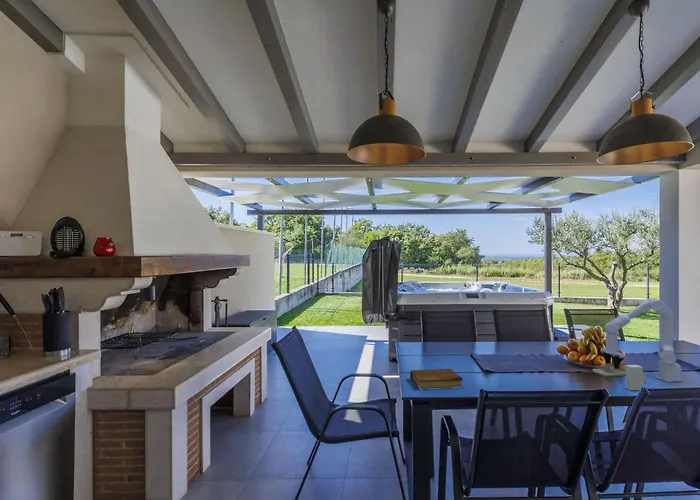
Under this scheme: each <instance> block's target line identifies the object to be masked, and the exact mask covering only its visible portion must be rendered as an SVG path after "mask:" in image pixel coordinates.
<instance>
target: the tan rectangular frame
mask: <svg viewBox="0 0 700 500" xmlns="http://www.w3.org/2000/svg"><path fill="white" fill-rule="evenodd" d="M626 365H628V364H626V363H624V362H621V363H620V365H619V369H614V362H613V363H612V362H611V363H603V366H602V369H603V370H604V371H610V372H619V371H626Z"/></svg>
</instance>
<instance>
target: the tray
mask: <svg viewBox="0 0 700 500" xmlns="http://www.w3.org/2000/svg"><path fill="white" fill-rule="evenodd" d="M592 372H593V373H595V374H597V375H600V376H602V377H605V378H607V377H609V378H610V377H622V376H624V377H626V371H619V372H610V371H604V370H603V368H592Z"/></svg>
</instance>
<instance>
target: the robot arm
mask: <svg viewBox="0 0 700 500" xmlns="http://www.w3.org/2000/svg"><path fill="white" fill-rule="evenodd" d="M651 311H654V312H657V313H658V315H660V316H661V331H660V332H661V334H660V335H661V336H660V338H661V344H660V346H659V348H660V349H659V351H658V352H657V356H658V357H659V360H658V376H657V375H656V376H654V378H656V379H659V380H661V381H665V382H668V383H669V382H670V383H671V382H683V381H684V379H682V368H681V365H680V364H679V363H677V356H676V355H675V349H674V313H673V312H672V310H671V309H670V307H669V306H668V305H667V303H665V302H664V301H663V300H660V299H658V298H657V297H651V298H649V299H647V300H645V301H643V302H641V303H640V304H639V305H637V306H636V307H634V308H633V309H632V310H630V311H629V312H627V313H626V314H623V313H621V314H618V315H617V317H616V318H613V319H610V321H609V322H607V323H606V324H605V326H604V328H605V348H600V352H601V356H602V357H603V360H604V362H605V363H612V362H611V361H613V363H614V369H619V365H620V363H622V361H623V359H624V358H625V354H624V353H622V352H620V351H619V343H618V340H619V339H618V337H619V336H618V333H619V330H620V329H622V328H624V327H626V326H628V325H629V324H630V323H631V320H632V319H633V318H635V317H637V316H638V315H640V314H641V313H643V312H651ZM605 363H604V364H605Z"/></svg>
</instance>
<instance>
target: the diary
mask: <svg viewBox="0 0 700 500" xmlns="http://www.w3.org/2000/svg"><path fill="white" fill-rule="evenodd" d="M409 373H410V376H409V377H410V380H411V382H412V381H413V382H414V383H415V384H416V385H415V384H414V383H413V382H412V383H413V384H414V385H415V387H416V386H417V385H418V386H419V387H420V388H421V389H427V388H452V387H462V388H461V389H463V388H464V387H463V386H462V381H464V379H463V377H462V376H461V375H459V374H458V373H456V372H455V371H454V370H453V369H452V368H435V369H434V368H433V369H412V370H411V369H410V371H409Z"/></svg>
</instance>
